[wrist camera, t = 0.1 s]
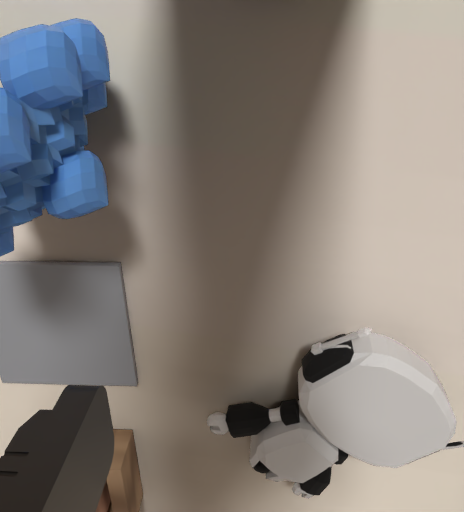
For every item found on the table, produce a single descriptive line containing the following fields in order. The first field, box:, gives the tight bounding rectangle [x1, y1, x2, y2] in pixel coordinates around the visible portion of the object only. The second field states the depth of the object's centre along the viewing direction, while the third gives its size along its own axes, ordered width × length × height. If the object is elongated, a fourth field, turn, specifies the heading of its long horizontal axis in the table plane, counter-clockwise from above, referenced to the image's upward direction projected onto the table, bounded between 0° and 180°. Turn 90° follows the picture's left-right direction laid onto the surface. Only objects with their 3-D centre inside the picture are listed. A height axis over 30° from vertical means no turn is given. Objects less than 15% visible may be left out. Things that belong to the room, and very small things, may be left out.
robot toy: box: [207, 327, 464, 498], centre depth 31 cm, size 12×4×15 cm
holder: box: [107, 429, 143, 512], centre depth 35 cm, size 8×8×4 cm
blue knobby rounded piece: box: [0, 18, 110, 256], centre depth 19 cm, size 12×7×12 cm, turn 146°
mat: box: [0, 261, 138, 386], centre depth 30 cm, size 10×10×1 cm
